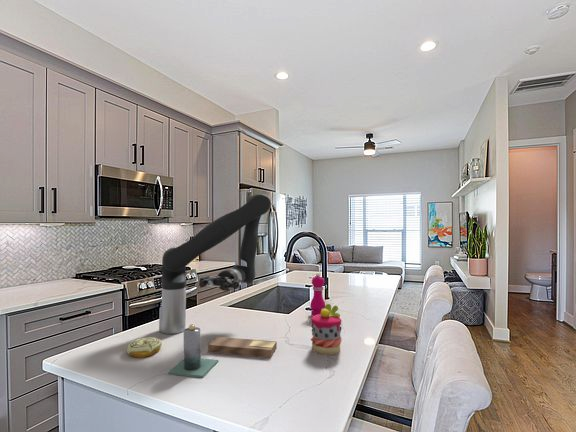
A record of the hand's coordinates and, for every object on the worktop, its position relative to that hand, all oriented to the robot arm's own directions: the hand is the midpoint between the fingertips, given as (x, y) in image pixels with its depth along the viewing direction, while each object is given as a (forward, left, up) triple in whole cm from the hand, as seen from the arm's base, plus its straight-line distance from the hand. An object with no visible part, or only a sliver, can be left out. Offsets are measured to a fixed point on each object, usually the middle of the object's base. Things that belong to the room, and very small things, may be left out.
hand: (212, 285), depth 113 cm
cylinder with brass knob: (0, -14, -21) cm, 26 cm away
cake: (+38, +10, -22) cm, 45 cm away
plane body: (+10, +3, -22) cm, 25 cm away
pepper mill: (+31, +52, -22) cm, 64 cm away
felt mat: (0, -13, -22) cm, 26 cm away
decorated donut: (-22, -5, -23) cm, 32 cm away
